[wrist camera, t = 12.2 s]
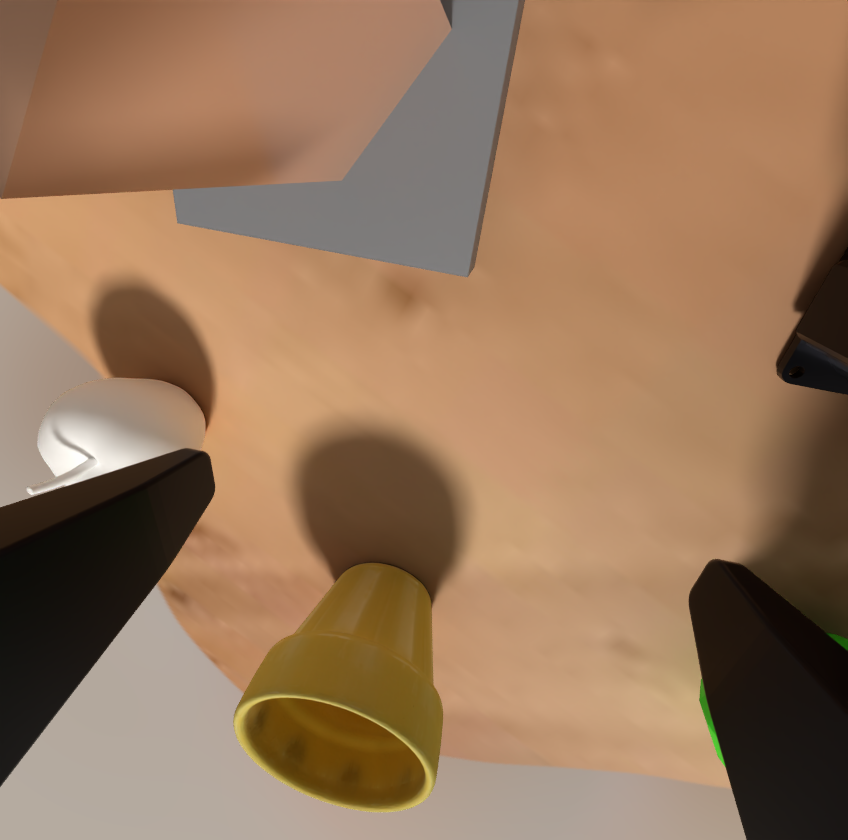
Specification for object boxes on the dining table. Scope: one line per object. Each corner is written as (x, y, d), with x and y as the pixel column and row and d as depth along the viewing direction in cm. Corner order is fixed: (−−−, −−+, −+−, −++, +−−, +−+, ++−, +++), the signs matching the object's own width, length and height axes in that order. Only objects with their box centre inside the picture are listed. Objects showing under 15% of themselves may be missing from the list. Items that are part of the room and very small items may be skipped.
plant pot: (449, 539, 25) (413, 712, 17) (469, 651, 30) (448, 831, 22) (295, 536, 28) (198, 685, 20) (335, 639, 33) (269, 795, 24)
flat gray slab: (556, -158, 13) (564, -248, 10) (475, 265, 19) (467, 277, 16) (186, -184, 14) (109, -269, 11) (222, 218, 20) (177, 223, 17)
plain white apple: (114, 338, 24) (-55, 399, 17) (233, 382, 23) (111, 462, 16) (124, 438, 27) (-12, 523, 20) (227, 477, 27) (124, 576, 20)
